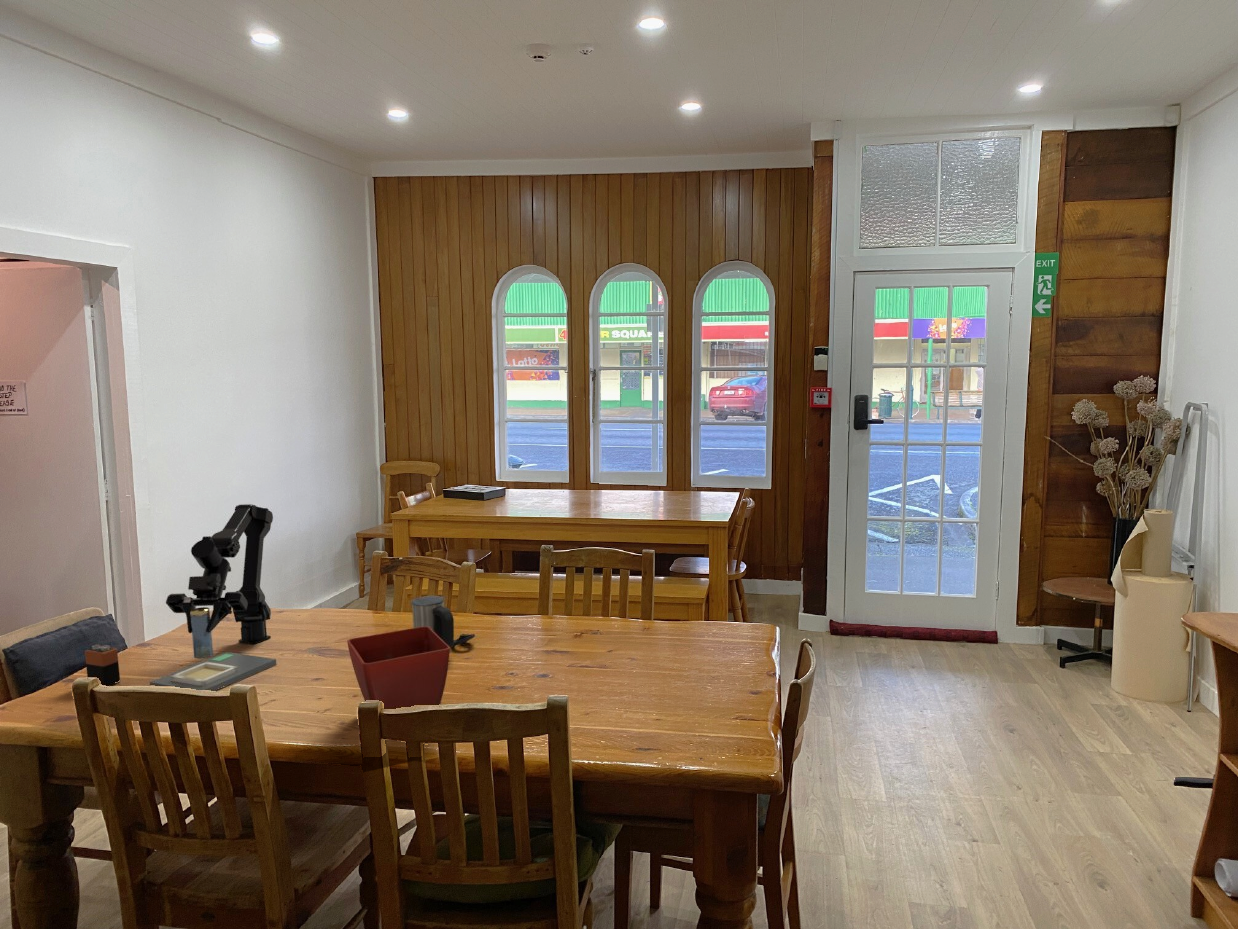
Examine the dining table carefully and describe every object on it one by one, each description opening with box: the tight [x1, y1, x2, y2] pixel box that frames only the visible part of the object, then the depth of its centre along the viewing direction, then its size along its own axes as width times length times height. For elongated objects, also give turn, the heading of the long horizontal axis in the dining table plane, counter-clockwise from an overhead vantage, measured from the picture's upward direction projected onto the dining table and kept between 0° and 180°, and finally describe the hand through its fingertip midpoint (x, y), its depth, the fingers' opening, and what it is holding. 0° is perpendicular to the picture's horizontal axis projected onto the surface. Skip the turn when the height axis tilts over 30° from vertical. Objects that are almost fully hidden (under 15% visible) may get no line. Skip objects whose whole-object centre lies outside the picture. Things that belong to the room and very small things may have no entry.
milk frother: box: [410, 595, 476, 649], centre depth 242 cm, size 14×16×15 cm
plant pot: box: [346, 626, 451, 709], centre depth 197 cm, size 19×19×17 cm
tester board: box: [149, 651, 277, 692], centre depth 226 cm, size 24×18×3 cm
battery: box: [84, 644, 121, 687], centre depth 222 cm, size 4×7×10 cm, turn 67°
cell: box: [190, 606, 214, 660], centre depth 221 cm, size 4×4×12 cm
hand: (199, 632), depth 219 cm, fingers closed on cell, 4 cm apart
